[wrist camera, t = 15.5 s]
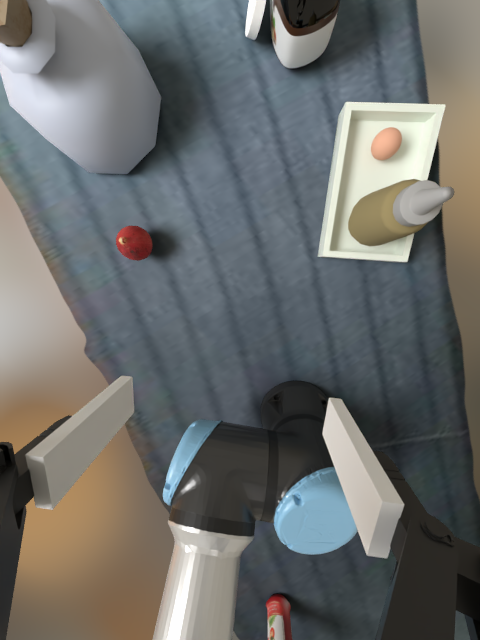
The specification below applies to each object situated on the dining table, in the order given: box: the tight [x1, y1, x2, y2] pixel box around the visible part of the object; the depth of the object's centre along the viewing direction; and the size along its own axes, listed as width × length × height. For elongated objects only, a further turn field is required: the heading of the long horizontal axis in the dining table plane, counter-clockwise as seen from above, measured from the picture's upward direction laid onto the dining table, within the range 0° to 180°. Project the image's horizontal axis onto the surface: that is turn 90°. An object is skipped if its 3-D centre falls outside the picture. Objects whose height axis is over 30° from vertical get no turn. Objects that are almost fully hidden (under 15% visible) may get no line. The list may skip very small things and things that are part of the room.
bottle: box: [0, 0, 161, 174], centre depth 31 cm, size 20×20×19 cm
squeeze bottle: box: [348, 179, 454, 247], centre depth 31 cm, size 8×8×18 cm
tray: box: [318, 102, 445, 262], centre depth 38 cm, size 22×14×3 cm, turn 176°
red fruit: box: [116, 226, 152, 261], centre depth 41 cm, size 6×6×8 cm
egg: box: [371, 127, 402, 160], centre depth 35 cm, size 4×4×4 cm
